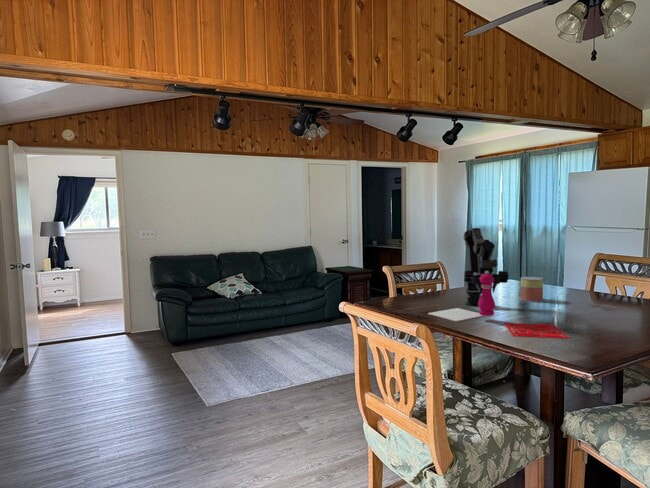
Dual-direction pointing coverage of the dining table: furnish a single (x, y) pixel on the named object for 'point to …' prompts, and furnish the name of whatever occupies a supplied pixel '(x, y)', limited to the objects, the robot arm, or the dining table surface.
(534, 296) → the canned food
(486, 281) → the pepper mill
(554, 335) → the maze puzzle
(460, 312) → the grey mat
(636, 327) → the dining table surface
